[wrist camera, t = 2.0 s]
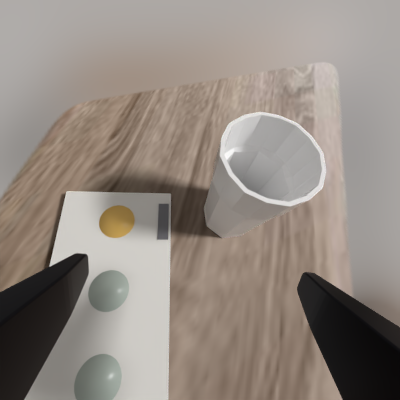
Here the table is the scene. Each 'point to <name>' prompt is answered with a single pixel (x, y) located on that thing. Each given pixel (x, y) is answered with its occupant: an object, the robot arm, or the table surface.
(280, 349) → the table surface
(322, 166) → the cup
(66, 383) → the indicator panel
